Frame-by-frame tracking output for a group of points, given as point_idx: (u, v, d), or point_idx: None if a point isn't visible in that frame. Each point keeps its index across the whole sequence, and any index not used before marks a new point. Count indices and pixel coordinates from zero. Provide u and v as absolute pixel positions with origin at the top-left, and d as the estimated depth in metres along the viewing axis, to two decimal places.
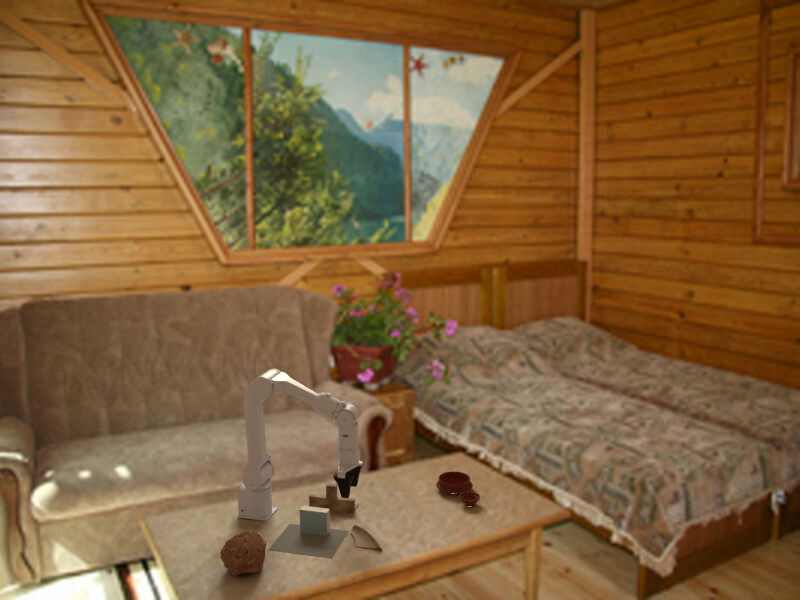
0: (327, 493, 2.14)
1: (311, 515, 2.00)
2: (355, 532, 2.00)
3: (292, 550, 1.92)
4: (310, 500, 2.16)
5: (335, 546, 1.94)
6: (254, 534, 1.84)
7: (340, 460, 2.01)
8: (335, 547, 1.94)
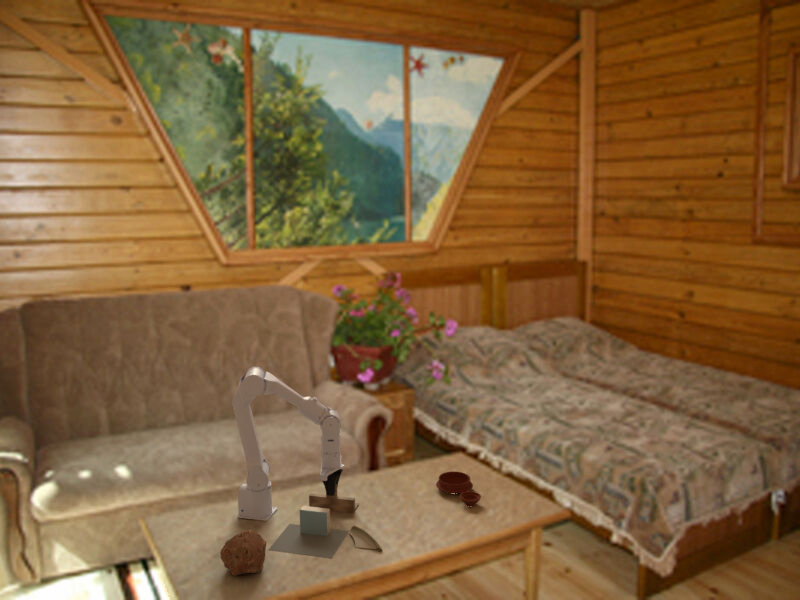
0: None
1: (311, 515, 2.00)
2: (354, 533, 2.00)
3: (292, 550, 1.92)
4: (310, 499, 2.16)
5: (335, 546, 1.94)
6: (254, 534, 1.84)
7: (323, 463, 2.11)
8: (335, 547, 1.94)
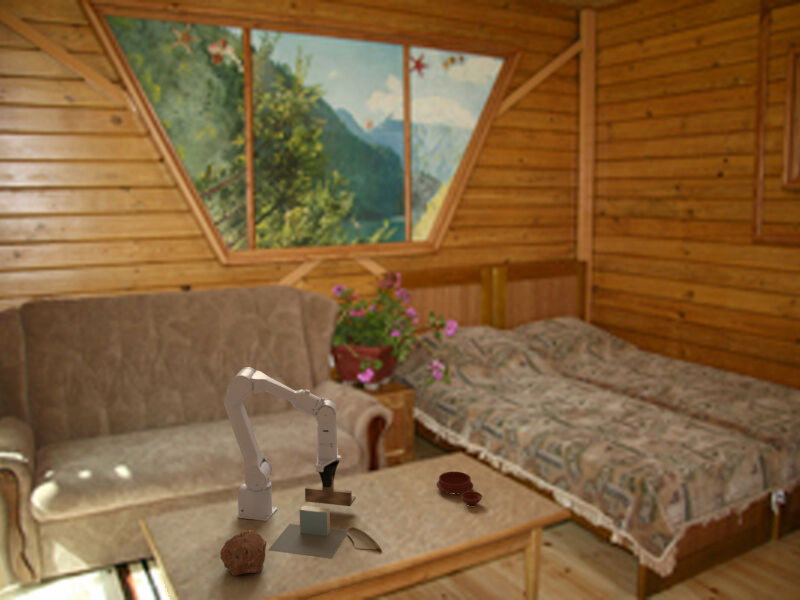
0: None
1: (311, 515, 2.00)
2: (352, 534, 1.99)
3: (292, 550, 1.92)
4: (306, 492, 2.12)
5: (335, 546, 1.94)
6: (254, 534, 1.84)
7: (319, 454, 2.08)
8: (335, 547, 1.94)
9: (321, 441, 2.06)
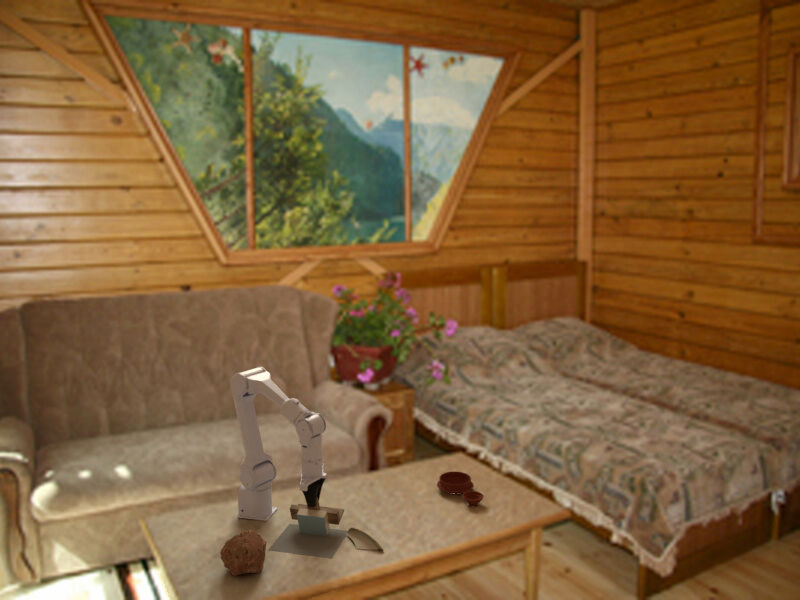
0: None
1: (309, 519, 1.98)
2: (352, 534, 1.99)
3: (292, 550, 1.92)
4: (291, 512, 2.02)
5: (335, 546, 1.94)
6: (254, 534, 1.84)
7: (303, 472, 1.95)
8: (335, 547, 1.94)
9: (301, 456, 1.95)
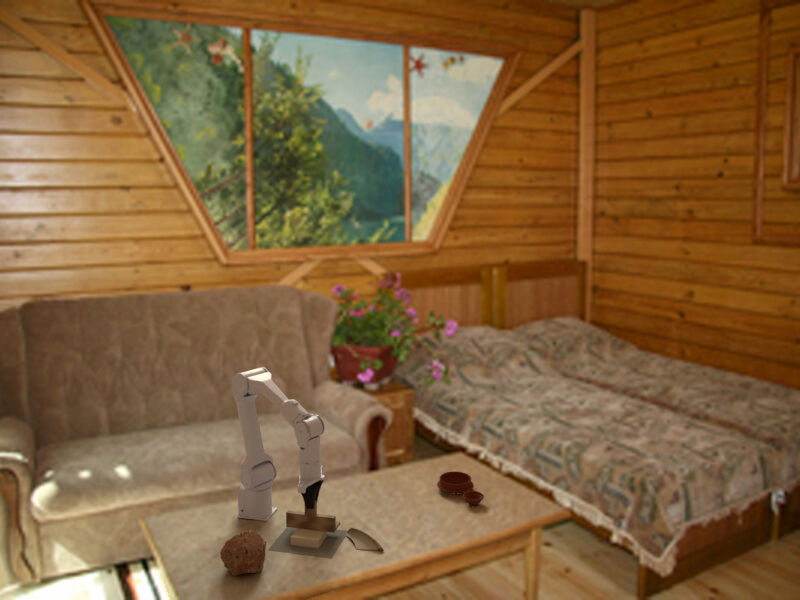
0: (306, 509, 1.97)
1: None
2: (352, 535, 1.98)
3: (292, 550, 1.92)
4: (287, 517, 1.99)
5: (335, 546, 1.94)
6: (254, 534, 1.84)
7: (301, 474, 1.94)
8: (335, 547, 1.94)
9: None
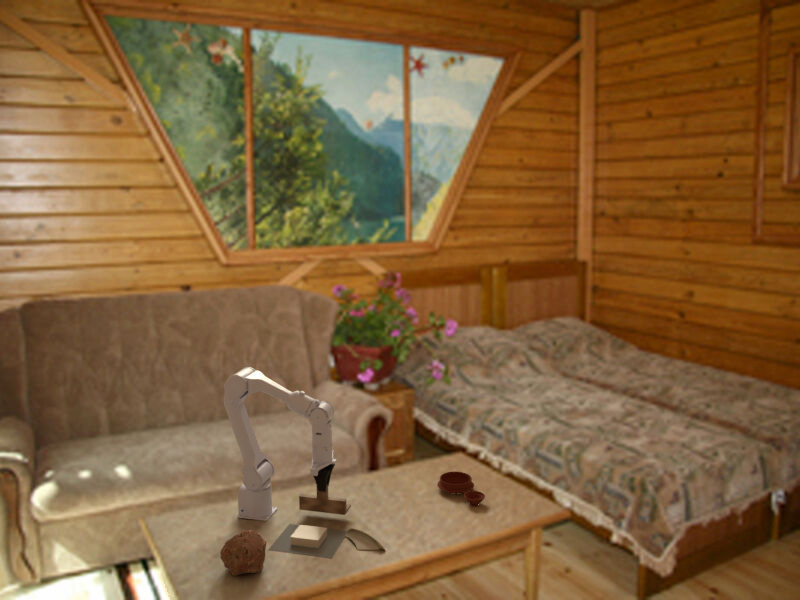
0: (318, 493, 2.07)
1: None
2: (352, 535, 1.98)
3: (292, 550, 1.92)
4: (300, 500, 2.09)
5: (335, 546, 1.94)
6: (254, 534, 1.84)
7: (314, 458, 2.03)
8: (335, 547, 1.94)
9: (314, 444, 2.02)
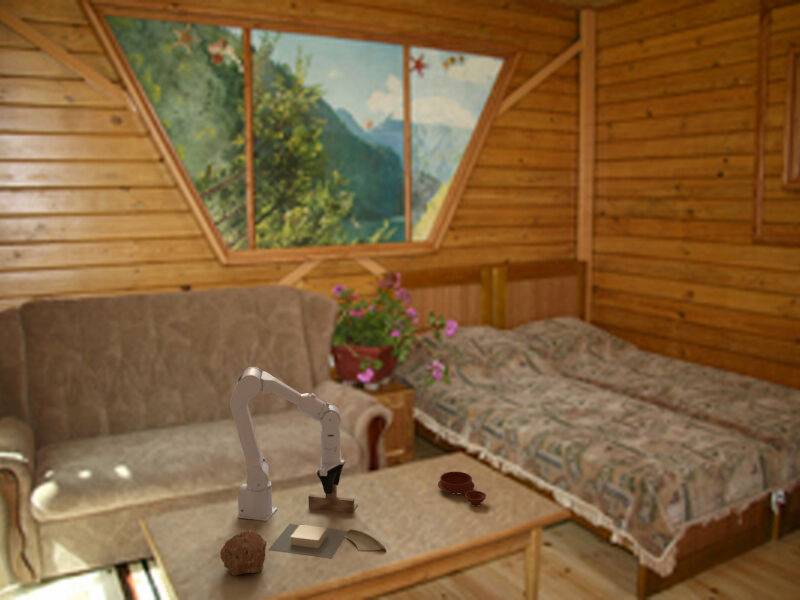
0: None
1: None
2: (352, 536, 1.98)
3: (292, 550, 1.92)
4: (309, 500, 2.16)
5: (335, 546, 1.94)
6: (254, 534, 1.84)
7: (322, 459, 2.11)
8: (335, 547, 1.94)
9: (326, 446, 2.09)
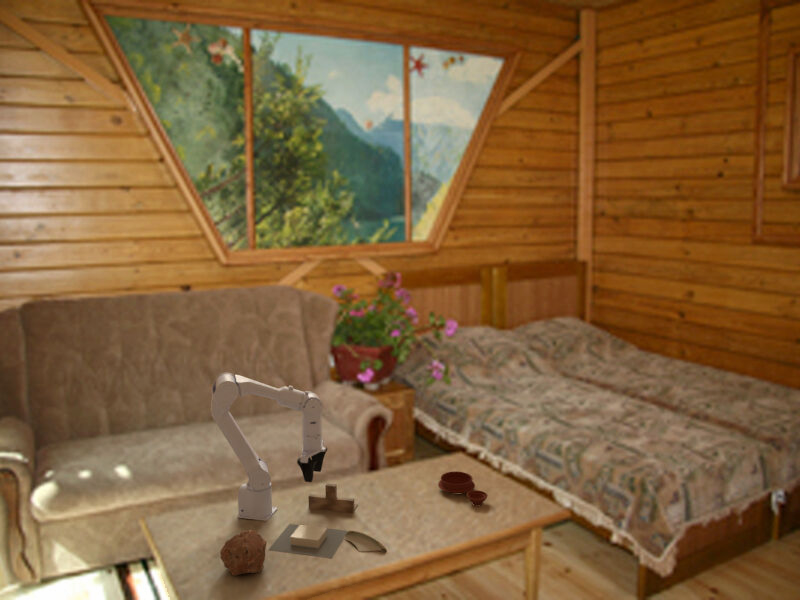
0: (326, 493, 2.14)
1: None
2: (351, 538, 1.97)
3: (292, 550, 1.92)
4: (309, 500, 2.16)
5: (335, 546, 1.94)
6: (254, 534, 1.84)
7: (304, 446, 2.12)
8: (335, 547, 1.94)
9: (308, 433, 2.10)
